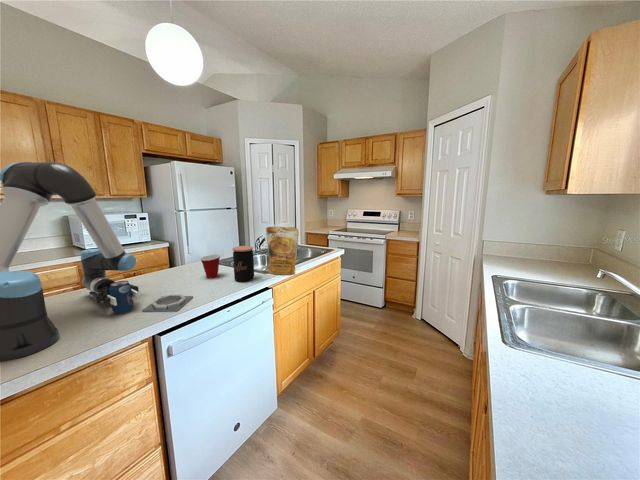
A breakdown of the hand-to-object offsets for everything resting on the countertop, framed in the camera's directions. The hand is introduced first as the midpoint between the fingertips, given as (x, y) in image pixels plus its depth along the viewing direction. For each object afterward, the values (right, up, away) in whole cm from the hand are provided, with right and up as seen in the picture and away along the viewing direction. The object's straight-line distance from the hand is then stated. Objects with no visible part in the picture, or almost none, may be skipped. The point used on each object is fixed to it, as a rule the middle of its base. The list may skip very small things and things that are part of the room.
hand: (126, 298), depth 100 cm
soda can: (-4, -6, +4) cm, 8 cm away
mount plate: (+11, -5, +10) cm, 15 cm away
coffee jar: (+34, +1, +43) cm, 54 cm away
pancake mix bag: (+53, +3, +53) cm, 75 cm away
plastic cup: (+13, +2, +47) cm, 49 cm away
